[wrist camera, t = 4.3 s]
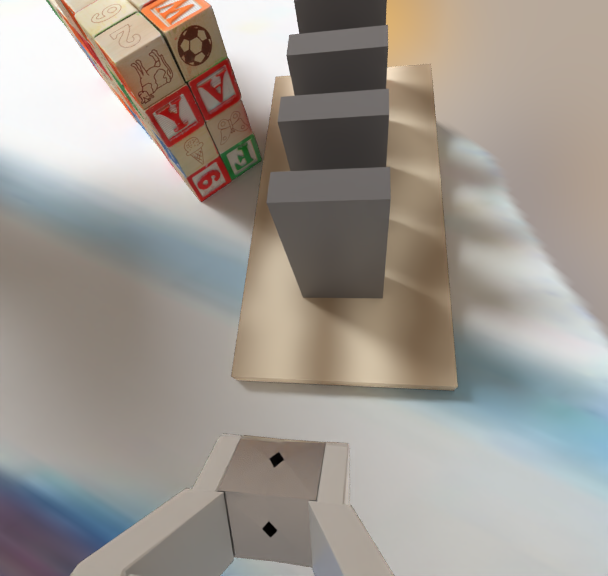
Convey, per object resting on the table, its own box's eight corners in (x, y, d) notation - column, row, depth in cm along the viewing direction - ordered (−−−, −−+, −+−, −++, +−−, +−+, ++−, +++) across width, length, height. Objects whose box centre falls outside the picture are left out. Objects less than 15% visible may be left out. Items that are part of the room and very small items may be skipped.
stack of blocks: (99, 78, 40) (-3, -70, 29) (151, 47, 41) (71, -109, 30) (202, 204, 31) (110, 60, 20) (265, 161, 32) (211, 0, 21)
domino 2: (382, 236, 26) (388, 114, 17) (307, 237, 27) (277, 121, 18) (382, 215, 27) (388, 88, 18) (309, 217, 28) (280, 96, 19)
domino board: (237, 380, 25) (231, 376, 24) (278, 88, 35) (275, 76, 34) (453, 390, 23) (457, 386, 22) (429, 76, 33) (431, 63, 32)
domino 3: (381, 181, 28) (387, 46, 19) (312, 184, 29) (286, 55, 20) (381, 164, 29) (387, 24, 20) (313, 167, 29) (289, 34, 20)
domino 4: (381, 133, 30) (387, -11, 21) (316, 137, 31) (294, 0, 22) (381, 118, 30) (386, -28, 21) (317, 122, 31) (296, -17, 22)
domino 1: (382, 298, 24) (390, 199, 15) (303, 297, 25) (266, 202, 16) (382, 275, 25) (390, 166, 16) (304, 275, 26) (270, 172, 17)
